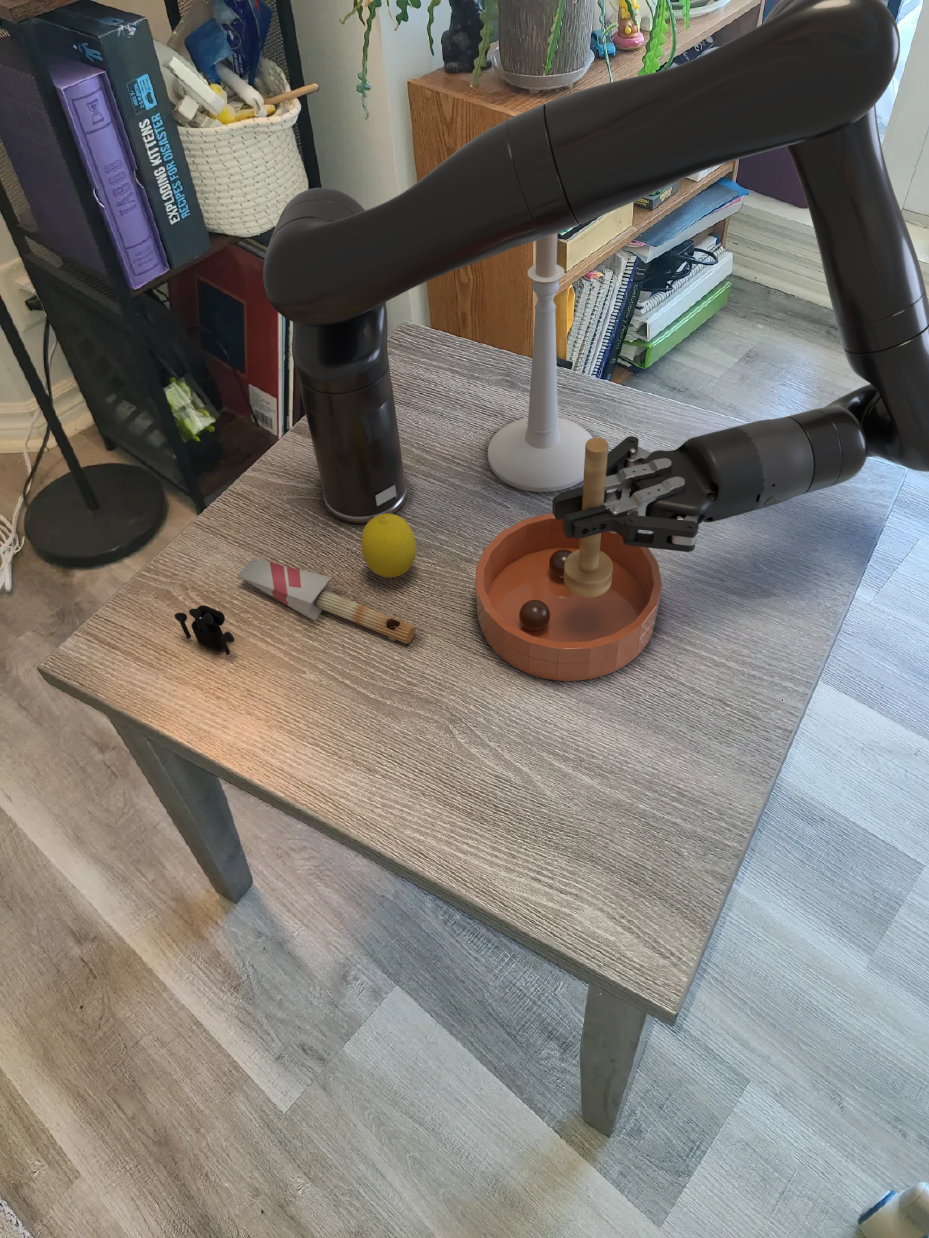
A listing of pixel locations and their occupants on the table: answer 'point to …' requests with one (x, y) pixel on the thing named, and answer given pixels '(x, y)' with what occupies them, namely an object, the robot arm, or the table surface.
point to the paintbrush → (318, 597)
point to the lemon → (388, 545)
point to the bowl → (564, 603)
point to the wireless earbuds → (207, 628)
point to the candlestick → (541, 402)
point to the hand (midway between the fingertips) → (560, 518)
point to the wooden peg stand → (588, 564)
